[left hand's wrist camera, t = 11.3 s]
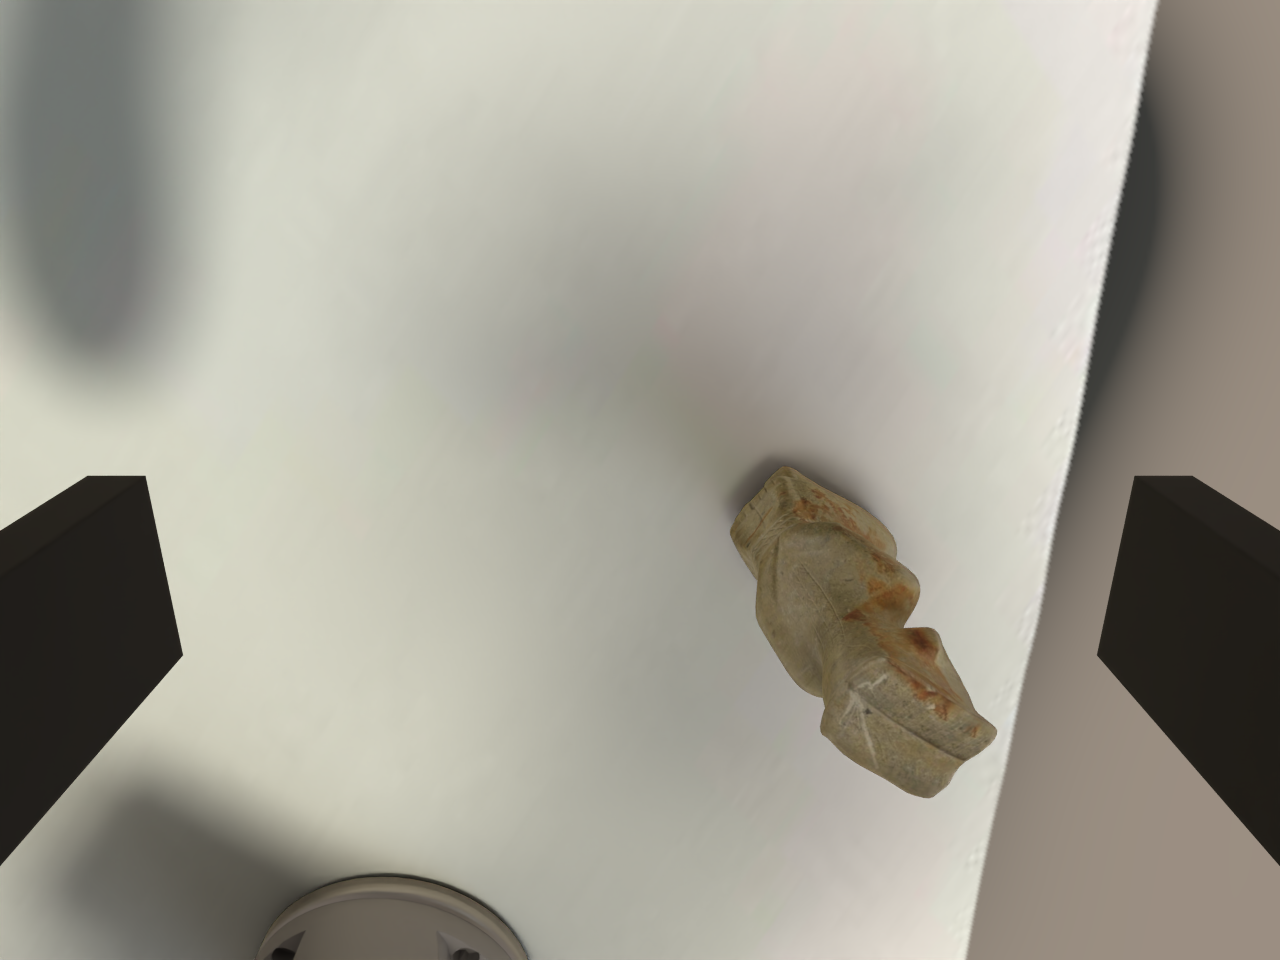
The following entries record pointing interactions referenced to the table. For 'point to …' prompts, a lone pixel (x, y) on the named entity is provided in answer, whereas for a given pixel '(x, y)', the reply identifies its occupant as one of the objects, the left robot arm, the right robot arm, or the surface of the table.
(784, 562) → the sculpture
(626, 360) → the table surface
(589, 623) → the table surface
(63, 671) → the left robot arm
